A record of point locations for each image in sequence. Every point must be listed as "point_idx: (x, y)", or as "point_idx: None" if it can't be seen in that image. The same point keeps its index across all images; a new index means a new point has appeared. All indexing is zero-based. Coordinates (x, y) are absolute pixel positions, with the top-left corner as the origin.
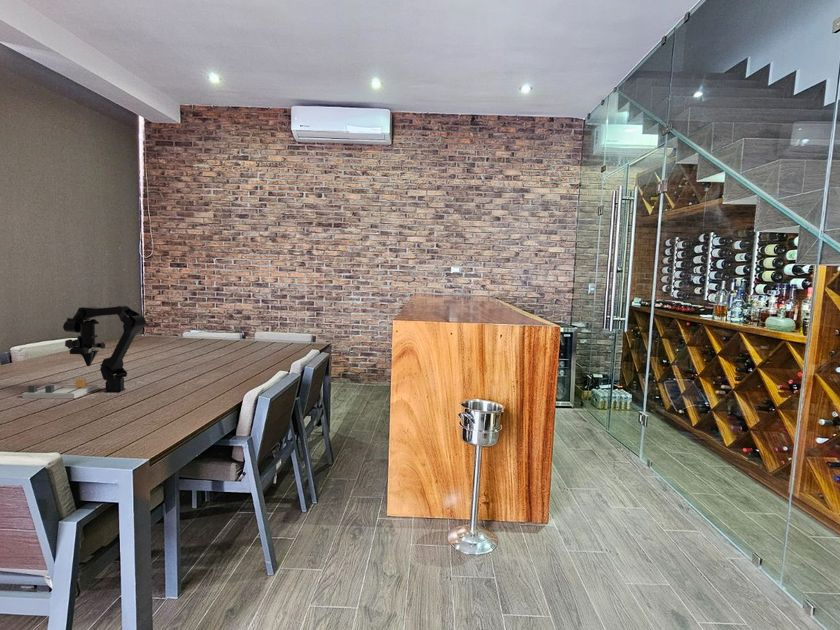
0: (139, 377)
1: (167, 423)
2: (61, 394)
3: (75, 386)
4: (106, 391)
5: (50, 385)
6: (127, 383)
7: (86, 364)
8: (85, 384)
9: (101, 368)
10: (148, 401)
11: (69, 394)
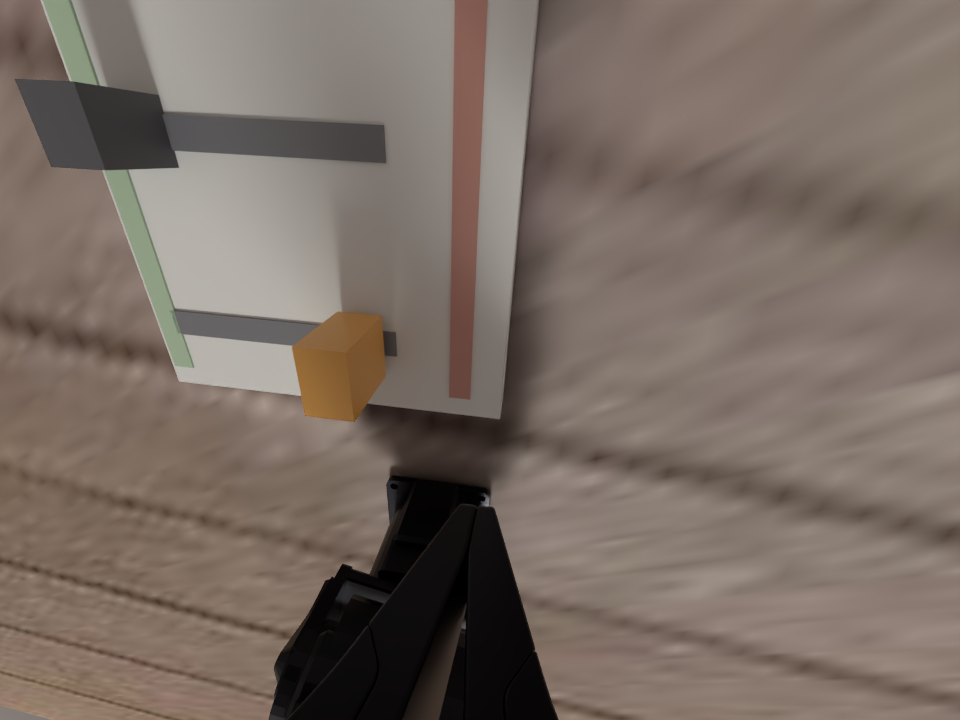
0: (930, 551)
1: (89, 695)
2: (148, 283)
3: (413, 265)
4: (393, 489)
5: (68, 134)
6: (685, 524)
7: (444, 527)
8: (376, 387)
9: (283, 678)
10: (273, 650)
11: (171, 345)
